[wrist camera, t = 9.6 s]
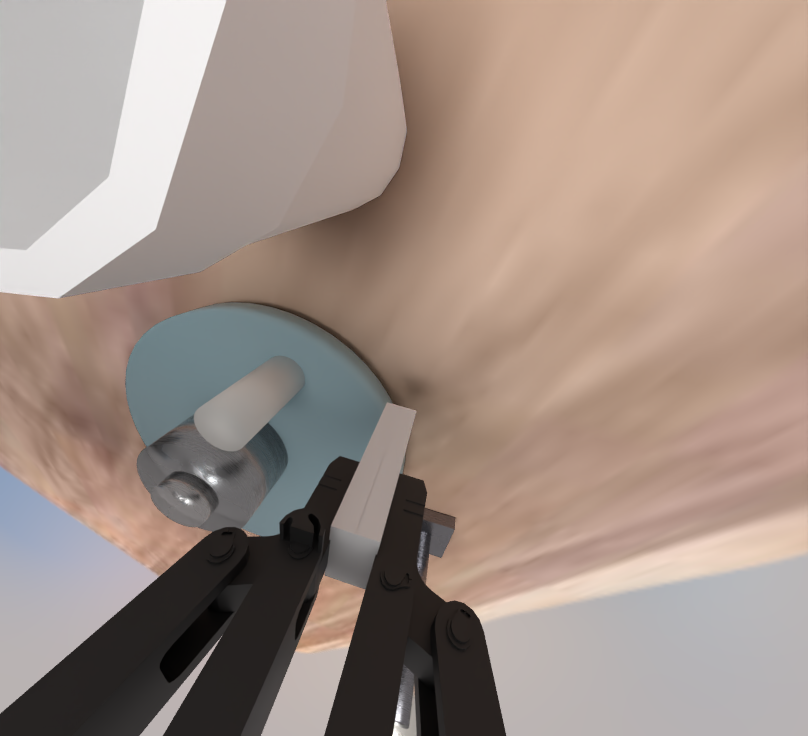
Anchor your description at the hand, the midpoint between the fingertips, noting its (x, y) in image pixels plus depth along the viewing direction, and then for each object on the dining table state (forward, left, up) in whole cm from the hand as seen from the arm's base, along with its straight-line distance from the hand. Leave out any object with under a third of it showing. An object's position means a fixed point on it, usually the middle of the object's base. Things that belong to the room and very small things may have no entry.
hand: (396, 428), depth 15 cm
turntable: (-9, -7, -5) cm, 12 cm away
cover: (-10, -7, -2) cm, 13 cm away
